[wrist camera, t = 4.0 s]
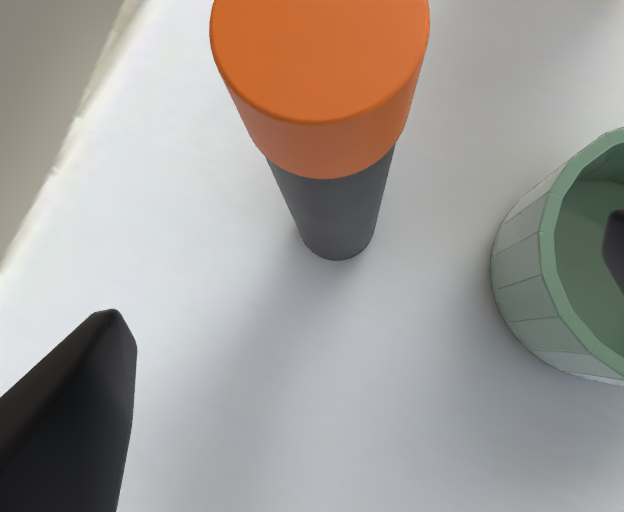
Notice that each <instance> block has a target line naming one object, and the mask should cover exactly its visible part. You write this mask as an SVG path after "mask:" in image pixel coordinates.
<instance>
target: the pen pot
mask: <svg viewBox="0 0 624 512" xmlns="http://www.w3.org/2000/svg"><path fill="white" fill-rule="evenodd" d="M620 208H624V127H622V128H619V129H616V130H613V131H610V132H607V133H605V134H603V135H601V136H600V137H598V138H597V139H596V140H594V141H593V142H592V143H590V144H589V145H588V146H586V147H585V148H584V149H582V150H581V151H580V152H578V153H577V154H576V155H574V156H573V157H572V158H570V159H569V160H568V161H567V162H565V163H564V164H563V165H562V166H560V167H559V168H558V169H557V170H555V171H554V172H553V173H552V174H550V175H549V176H548V177H547V178H546V179H544V180H543V181H542V182H541V183H539V184H538V185H537V186H536V187H534V188H533V189H532V190H531V191H529V192H528V193H527V194H526V195H524V196H523V197H522V198H521V199H520V200H519V201H518V203H517V204H516V205H515V206H514V207H513V208H512V209H511V210H510V212H509V213H508V215H507V216H506V217H505V219H504V221H503V222H502V224H501V226H500V228H499V230H498V233H497V236H496V238H495V241H494V245H493V250H492V255H491V268H490V270H491V283H492V288H493V292H494V297H495V300H496V302H497V305H498V308H499V310H500V312H501V314H502V316H503V318H504V320H505V322H506V324H507V325H508V327H509V328H510V330H511V331H512V333H513V334H514V335H515V336H516V337H517V339H518V340H519V341H520V342H521V343H522V344H523V345H524V346H525V347H526V348H527V349H528V350H529V351H530V352H532V353H533V354H534V355H535V356H537V357H538V358H540V359H541V360H542V361H544V362H545V363H547V364H549V365H551V366H553V367H555V368H556V369H558V370H561V371H563V372H566V373H568V374H571V375H574V376H578V377H582V378H586V379H590V380H593V381H596V382H602V383H608V384H613V385H619V386H624V296H623V294H622V292H621V291H620V289H619V287H618V285H617V284H616V282H615V280H614V278H613V277H612V275H611V273H610V272H609V270H608V268H607V266H606V265H605V263H604V261H603V258H602V255H601V245H602V239H603V234H604V229H605V224H606V219H607V216H608V214H609V213H610V212H611V211H612V210H615V209H620Z"/></svg>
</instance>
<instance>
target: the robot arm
mask: <svg viewBox="0 0 624 512" xmlns="http://www.w3.org/2000/svg"><path fill="white" fill-rule="evenodd" d="M601 255H602V258H603V261H604V263H605V265H606V266H607V268H608V270H609V272H610V273H611V275H612V277H613V278H614V280H615V282H616V284H617V285H618V287H619V289H620V291H621V292H622V294H623V296H624V208H620V209H615V210H612V211H611V212H610V213H609V214H608V216H607V219H606V224H605V229H604V234H603V239H602V245H601ZM136 362H137V345H136V341H135V339H134V337H133V335H132V333H131V331H130V329H129V328H128V326H127V324H126V322H125V320H124V319H123V317H122V315H121V314H120V312H119V311H118V310H116V309H108V310H103V311H98V312H94V313H93V314H91V315H90V316H89V317H88V318H87V319H86V320H85V321H84V322H82V323H81V324H80V325H79V326H78V327H77V328H76V329H75V330H74V331H73V332H72V333H70V334H69V335H68V336H67V337H66V338H65V339H64V340H63V341H62V342H61V343H60V344H58V345H57V346H56V347H55V348H54V349H53V350H52V351H51V352H50V353H49V354H48V355H46V356H45V357H44V358H43V359H42V360H41V361H40V362H39V363H38V364H37V365H36V366H34V367H33V368H32V369H31V370H30V371H29V372H28V373H27V374H26V375H25V376H23V377H22V378H21V379H20V380H19V381H18V382H17V383H16V384H15V385H14V386H13V387H11V388H10V389H9V390H8V391H7V392H6V393H5V394H4V395H3V396H2V397H1V398H0V512H116V510H117V505H118V500H119V494H120V489H121V483H122V478H123V473H124V467H125V462H126V456H127V451H128V446H129V440H130V434H131V428H132V420H133V408H134V393H135V377H136Z"/></svg>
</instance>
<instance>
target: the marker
mask: <svg viewBox="0 0 624 512" xmlns="http://www.w3.org/2000/svg"><path fill="white" fill-rule="evenodd" d="M429 31H430V11H429V5H428V0H214V3H213V6H212V10H211V17H210V28H209V37H210V45H211V50H212V54H213V58H214V61H215V63H216V66H217V68H218V70H219V73H220V75H221V77H222V79H223V81H224V83H225V85H226V87H227V89H228V91H229V93H230V95H231V97H232V99H233V102H234V104H235V106H236V108H237V110H238V112H239V114H240V116H241V118H242V120H243V122H244V124H245V126H246V128H247V131H248V133H249V135H250V137H251V138H252V140H253V142H254V143H255V145H256V146H257V147H258V149H259V150H260V151H261V152H262V154H264V155H265V157H266V159H267V161H268V164H269V166H270V168H271V170H272V172H273V175H274V177H275V179H276V181H277V183H278V186H279V188H280V190H281V192H282V194H283V197H284V199H285V201H286V203H287V205H288V208H289V210H290V212H291V214H292V216H293V219H294V221H295V223H296V225H297V227H298V230H299V232H300V234H301V236H302V238H303V241H304V242H305V244H306V245H307V247H308V248H309V249H310V250H311V251H312V252H314V253H315V254H316V255H318V256H320V257H322V258H325V259H329V260H345V259H348V258H351V257H354V256H355V255H357V254H359V253H360V252H361V251H363V250H364V249H365V247H366V246H367V245H368V244H369V242H370V240H371V238H372V236H373V233H374V229H375V225H376V220H377V216H378V212H379V208H380V204H381V200H382V196H383V192H384V188H385V184H386V180H387V176H388V172H389V168H390V164H391V160H392V155H393V151H394V147H395V143H396V141H397V140H398V138H399V136H400V134H401V133H402V131H403V128H404V126H405V123H406V121H407V117H408V114H409V110H410V106H411V103H412V99H413V95H414V92H415V88H416V84H417V80H418V77H419V73H420V69H421V66H422V62H423V58H424V55H425V51H426V47H427V43H428V38H429Z"/></svg>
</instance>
